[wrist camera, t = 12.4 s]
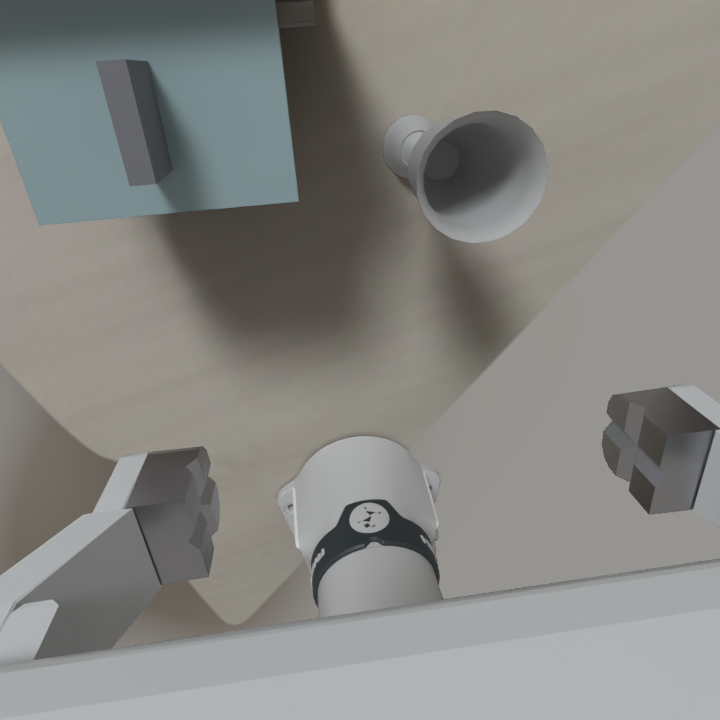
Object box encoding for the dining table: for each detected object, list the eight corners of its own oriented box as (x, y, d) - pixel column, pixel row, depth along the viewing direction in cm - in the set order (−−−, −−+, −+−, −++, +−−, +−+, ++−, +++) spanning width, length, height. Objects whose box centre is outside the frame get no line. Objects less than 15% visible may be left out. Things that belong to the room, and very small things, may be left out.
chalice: (461, 107, 43) (563, 118, 27) (447, 192, 46) (530, 247, 30) (374, 97, 42) (426, 103, 26) (365, 185, 45) (407, 238, 29)
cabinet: (295, 169, 38) (300, 218, 25) (102, 186, 37) (3, 246, 24) (274, -17, 33) (265, -76, 20) (46, -3, 32) (-121, -56, 19)
